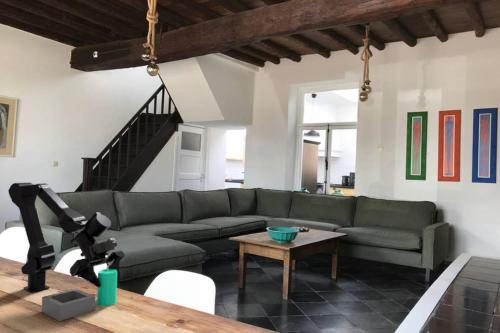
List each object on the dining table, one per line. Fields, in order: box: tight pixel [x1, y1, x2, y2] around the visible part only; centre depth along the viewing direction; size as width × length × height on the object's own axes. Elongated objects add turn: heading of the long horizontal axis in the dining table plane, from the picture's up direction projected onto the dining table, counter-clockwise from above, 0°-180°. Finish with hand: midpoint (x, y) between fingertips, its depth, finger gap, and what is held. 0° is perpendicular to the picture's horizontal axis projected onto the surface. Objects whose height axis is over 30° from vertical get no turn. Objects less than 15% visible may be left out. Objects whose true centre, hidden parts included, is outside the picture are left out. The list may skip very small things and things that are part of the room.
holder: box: [41, 288, 96, 322], centre depth 120 cm, size 11×11×4 cm
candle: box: [96, 268, 118, 307], centre depth 128 cm, size 6×6×12 cm
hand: (110, 283), depth 127 cm, fingers open, 8 cm apart
